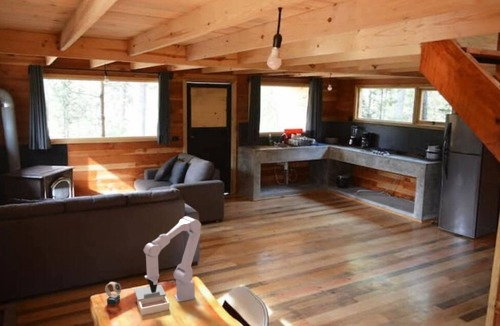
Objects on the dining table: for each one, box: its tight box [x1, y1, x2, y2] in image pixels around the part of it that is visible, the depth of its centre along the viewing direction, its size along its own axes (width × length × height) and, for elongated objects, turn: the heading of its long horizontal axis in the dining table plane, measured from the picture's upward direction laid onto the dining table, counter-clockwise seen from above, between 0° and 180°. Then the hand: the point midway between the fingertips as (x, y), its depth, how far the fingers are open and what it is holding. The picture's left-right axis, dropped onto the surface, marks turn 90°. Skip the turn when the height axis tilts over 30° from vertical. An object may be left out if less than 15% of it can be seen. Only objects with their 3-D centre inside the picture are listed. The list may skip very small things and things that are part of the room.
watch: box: [104, 281, 122, 306], centre depth 217 cm, size 6×8×11 cm
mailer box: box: [137, 294, 170, 317], centre depth 212 cm, size 14×12×4 cm
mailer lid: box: [133, 284, 167, 301], centre depth 219 cm, size 14×12×2 cm
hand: (153, 292), depth 209 cm, fingers closed
